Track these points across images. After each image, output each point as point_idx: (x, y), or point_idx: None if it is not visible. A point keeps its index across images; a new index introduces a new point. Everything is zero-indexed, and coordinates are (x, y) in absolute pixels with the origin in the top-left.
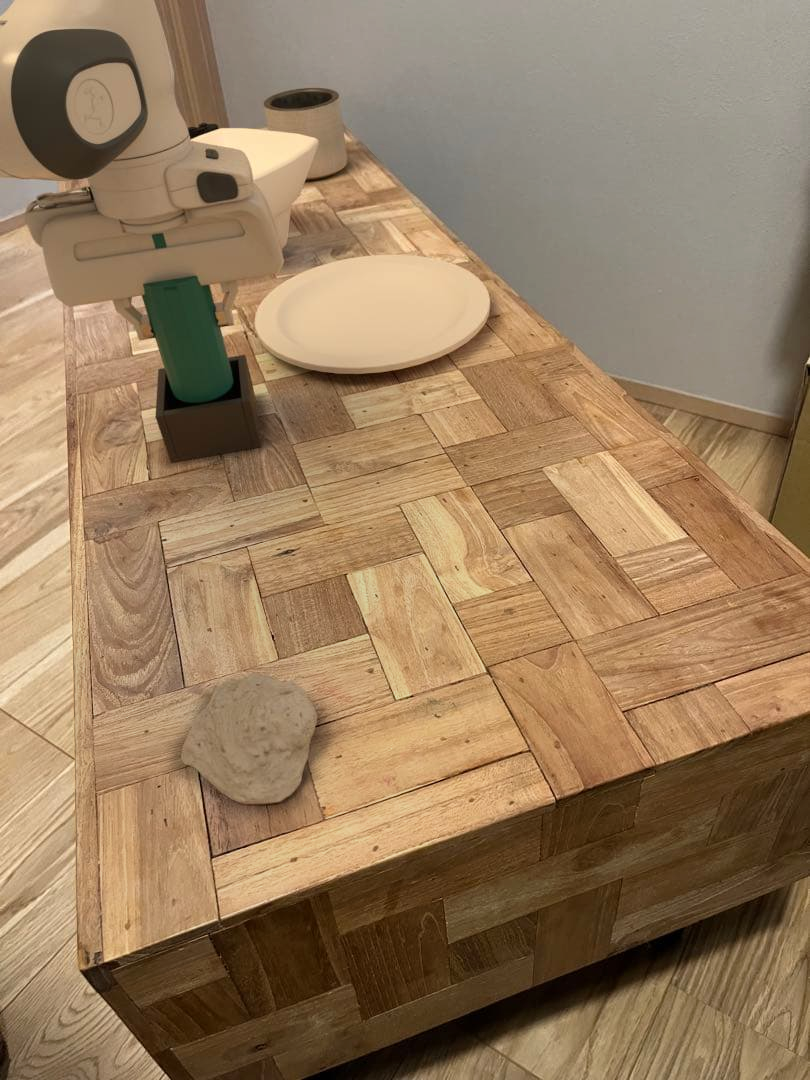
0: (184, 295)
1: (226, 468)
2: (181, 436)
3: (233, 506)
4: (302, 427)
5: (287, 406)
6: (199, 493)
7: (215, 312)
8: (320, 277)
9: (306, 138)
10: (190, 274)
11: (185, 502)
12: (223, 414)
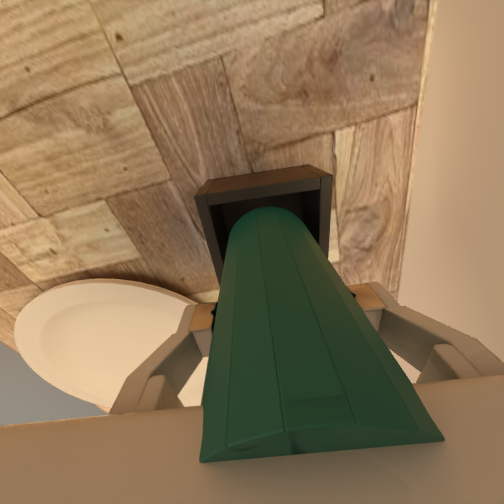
0: (259, 367)
1: (242, 142)
2: (295, 172)
3: (220, 41)
4: (168, 211)
5: (193, 249)
6: (270, 87)
7: (209, 327)
8: (193, 396)
9: None
10: (224, 474)
11: (288, 66)
12: (235, 186)
